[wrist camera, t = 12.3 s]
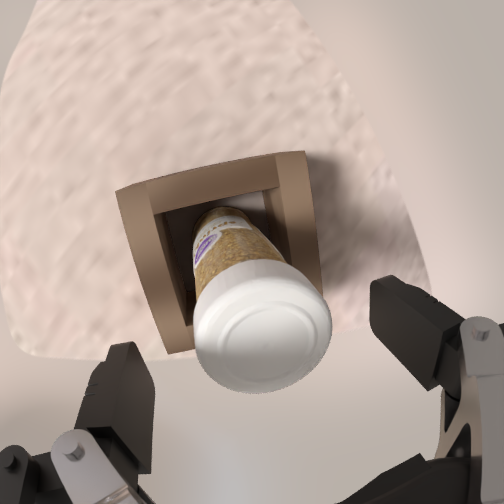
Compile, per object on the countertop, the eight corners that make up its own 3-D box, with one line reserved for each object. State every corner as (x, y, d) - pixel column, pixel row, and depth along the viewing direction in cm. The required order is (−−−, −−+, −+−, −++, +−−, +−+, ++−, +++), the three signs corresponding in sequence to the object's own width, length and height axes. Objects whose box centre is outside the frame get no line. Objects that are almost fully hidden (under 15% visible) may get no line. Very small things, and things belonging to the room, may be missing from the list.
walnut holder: (133, 184, 19) (115, 191, 14) (279, 152, 20) (305, 150, 16) (171, 316, 23) (167, 354, 18) (299, 285, 24) (324, 315, 19)
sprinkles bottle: (205, 196, 20) (228, 257, 8) (264, 219, 22) (361, 303, 9) (182, 255, 21) (176, 384, 9) (239, 275, 23) (297, 406, 10)
